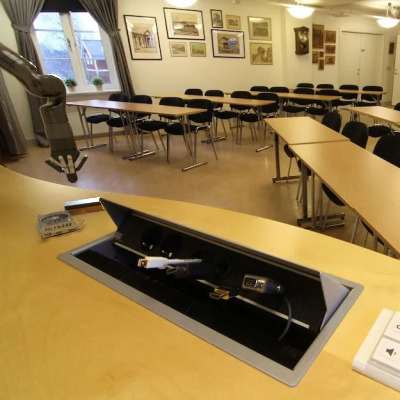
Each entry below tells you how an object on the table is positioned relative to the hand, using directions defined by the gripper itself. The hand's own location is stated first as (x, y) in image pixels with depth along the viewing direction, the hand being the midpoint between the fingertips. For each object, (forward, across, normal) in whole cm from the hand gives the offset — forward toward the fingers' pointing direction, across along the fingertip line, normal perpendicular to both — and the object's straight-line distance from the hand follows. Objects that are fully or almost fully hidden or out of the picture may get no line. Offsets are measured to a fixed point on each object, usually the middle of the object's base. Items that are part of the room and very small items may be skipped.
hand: (73, 182), depth 118 cm
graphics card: (+12, +4, +11) cm, 17 cm away
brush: (+10, +5, 0) cm, 11 cm away
